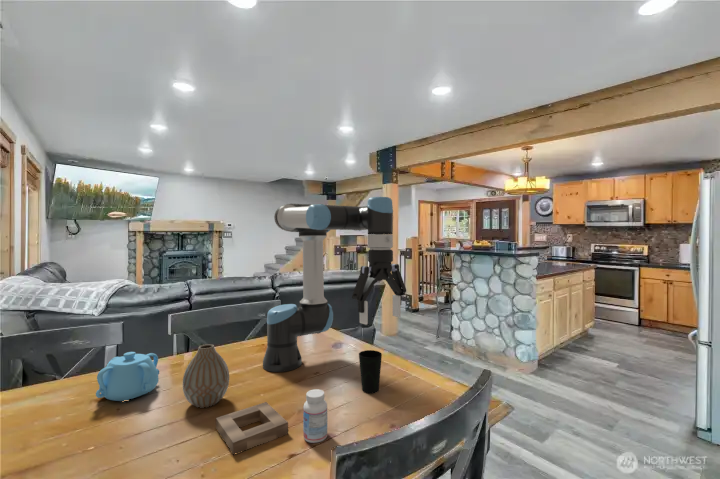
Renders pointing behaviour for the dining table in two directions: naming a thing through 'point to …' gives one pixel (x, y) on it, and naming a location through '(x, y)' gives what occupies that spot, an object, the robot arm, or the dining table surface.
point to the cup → (370, 370)
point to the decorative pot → (128, 376)
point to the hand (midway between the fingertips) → (380, 319)
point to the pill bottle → (315, 416)
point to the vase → (205, 377)
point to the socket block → (255, 436)
